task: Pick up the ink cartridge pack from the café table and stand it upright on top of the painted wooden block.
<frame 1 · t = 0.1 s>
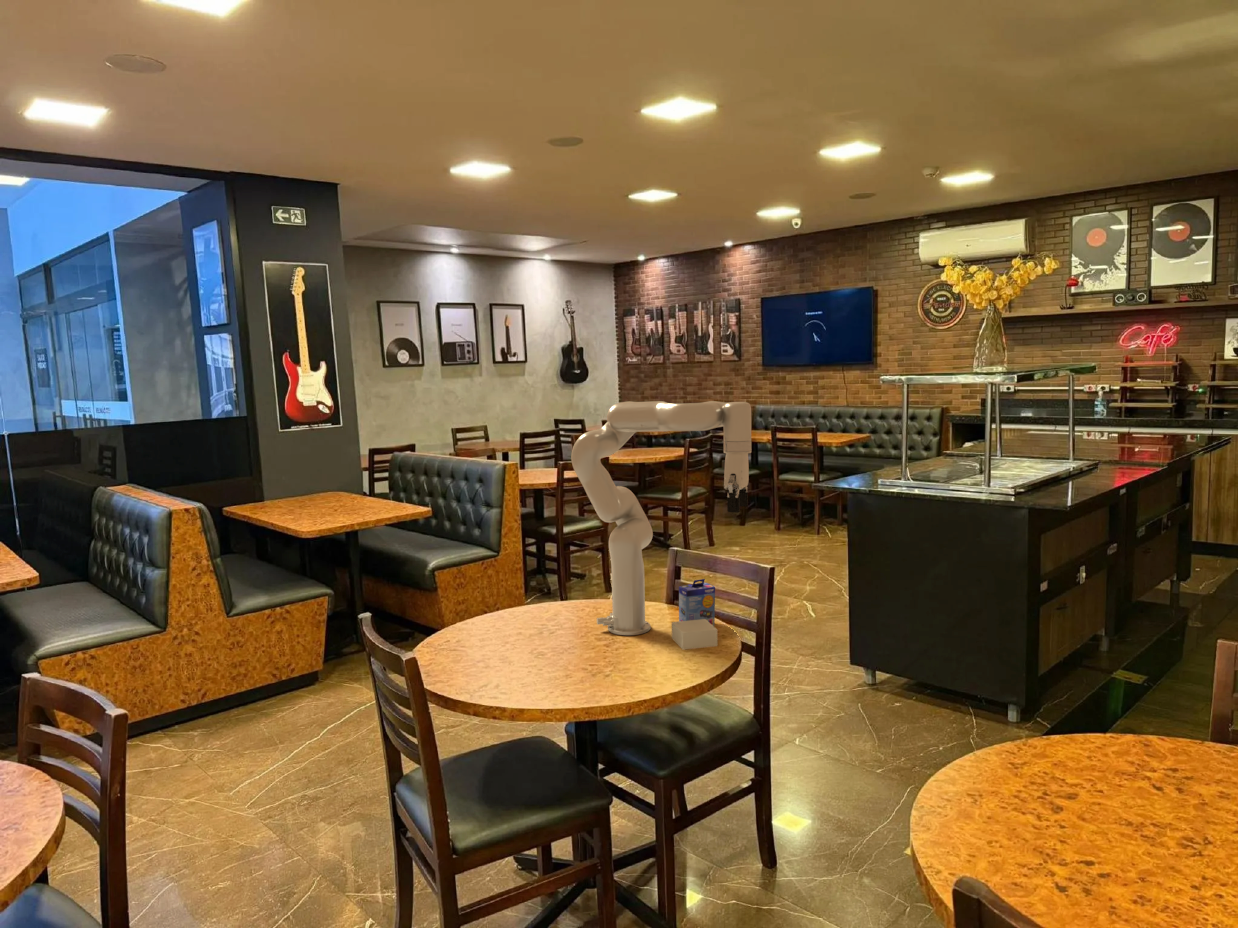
hand: (737, 509, 233), 37 cm above the table, tool pointing down, fingers open, 9 cm apart
base block: (694, 642, 236), on the table
ink cartridge box: (697, 626, 250), on the table
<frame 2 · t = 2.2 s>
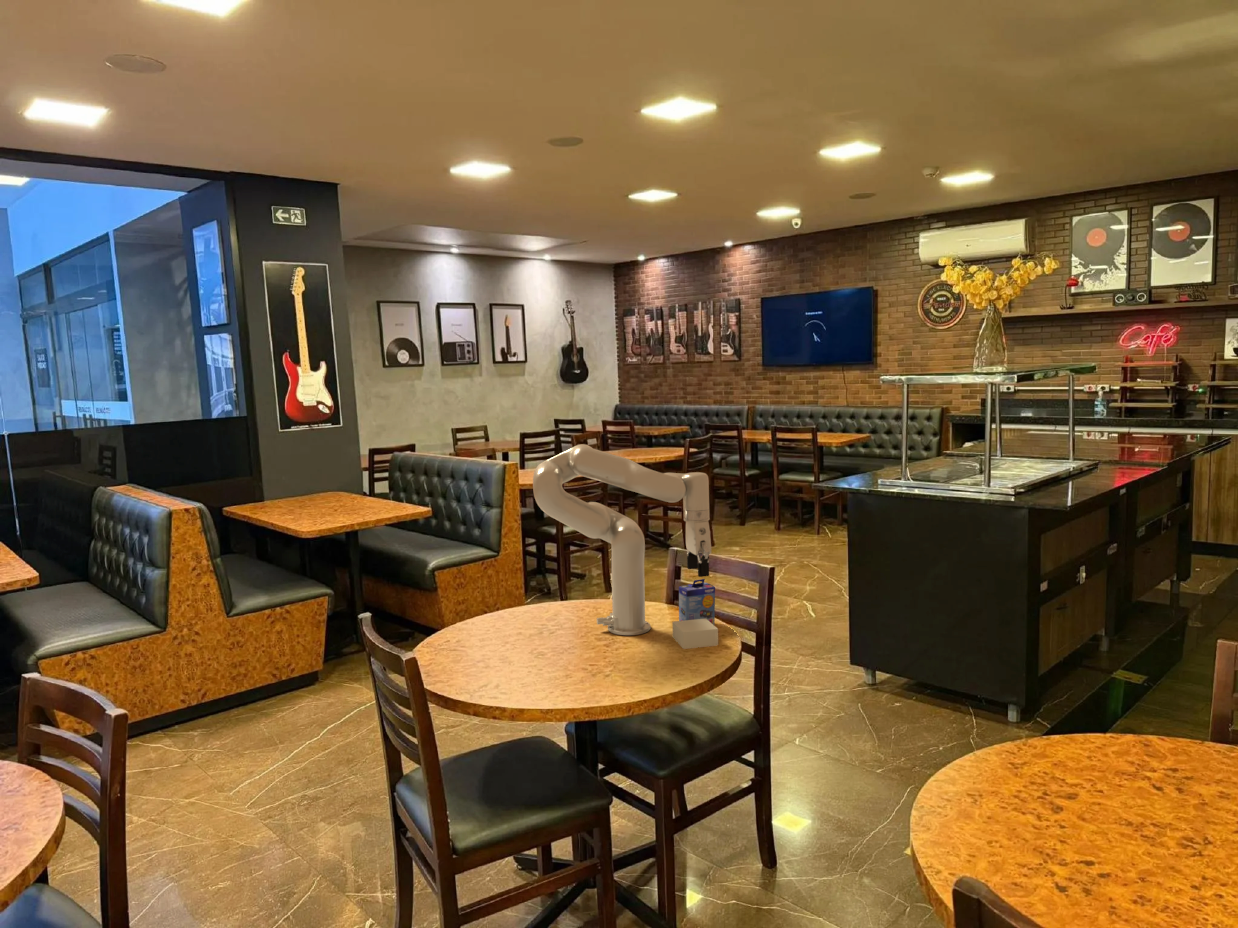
hand: (698, 572, 248), 16 cm above the table, tool pointing down, fingers open, 9 cm apart
nothing on the table moved.
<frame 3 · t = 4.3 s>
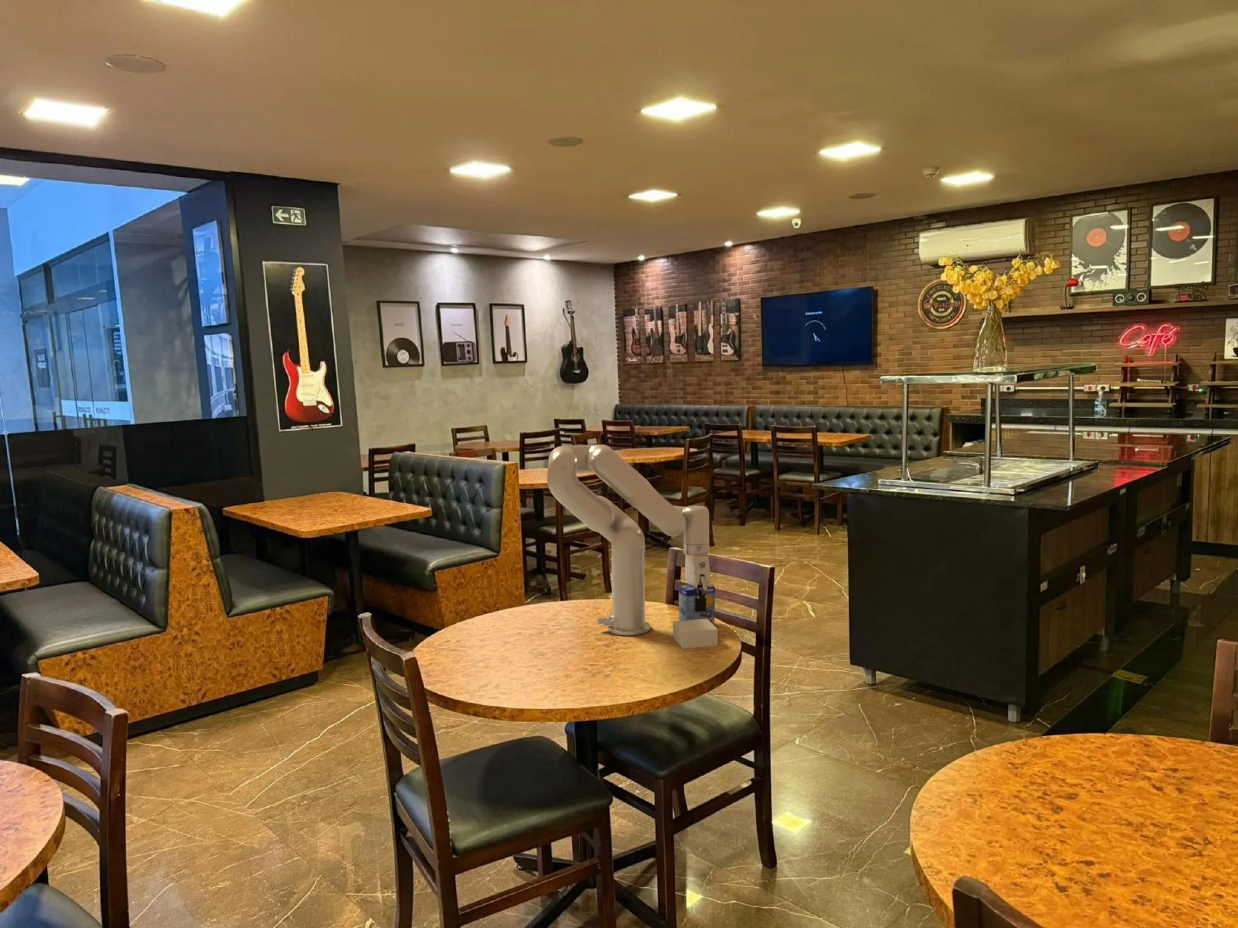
hand: (696, 607, 250), 6 cm above the table, tool pointing down, fingers closed on ink cartridge box, 5 cm apart
ink cartridge box: (697, 626, 250), on the table, touching gripper
everything else where it was.
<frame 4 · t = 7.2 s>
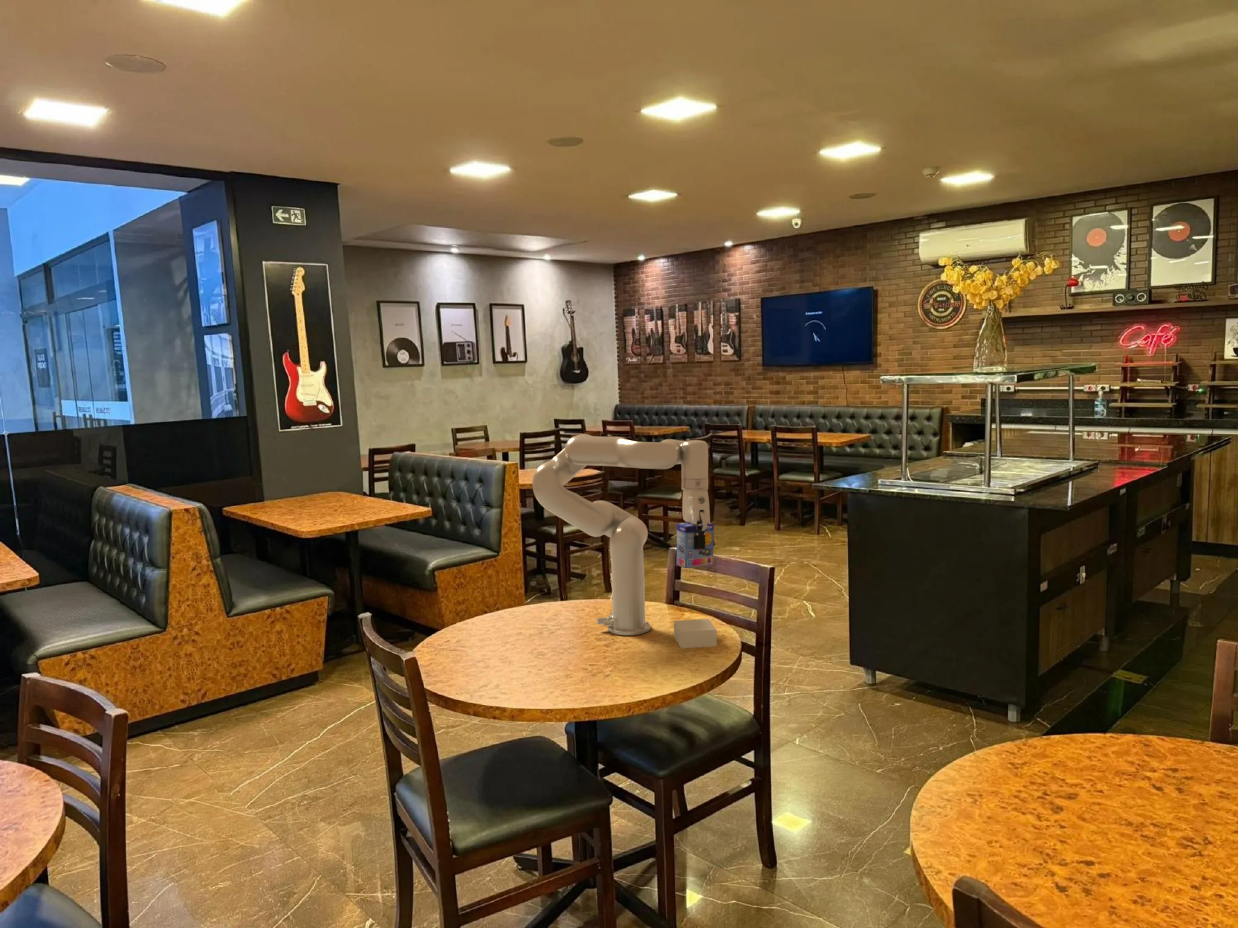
hand: (695, 545, 242), 25 cm above the table, tool pointing down, fingers closed on ink cartridge box, 5 cm apart
ink cartridge box: (695, 565, 243), point 20 cm above the table, touching gripper
everything else where it was.
when the fingers open (11 cm above the table, at t = 10.4 s): ink cartridge box drops 1 cm, resting on base block.
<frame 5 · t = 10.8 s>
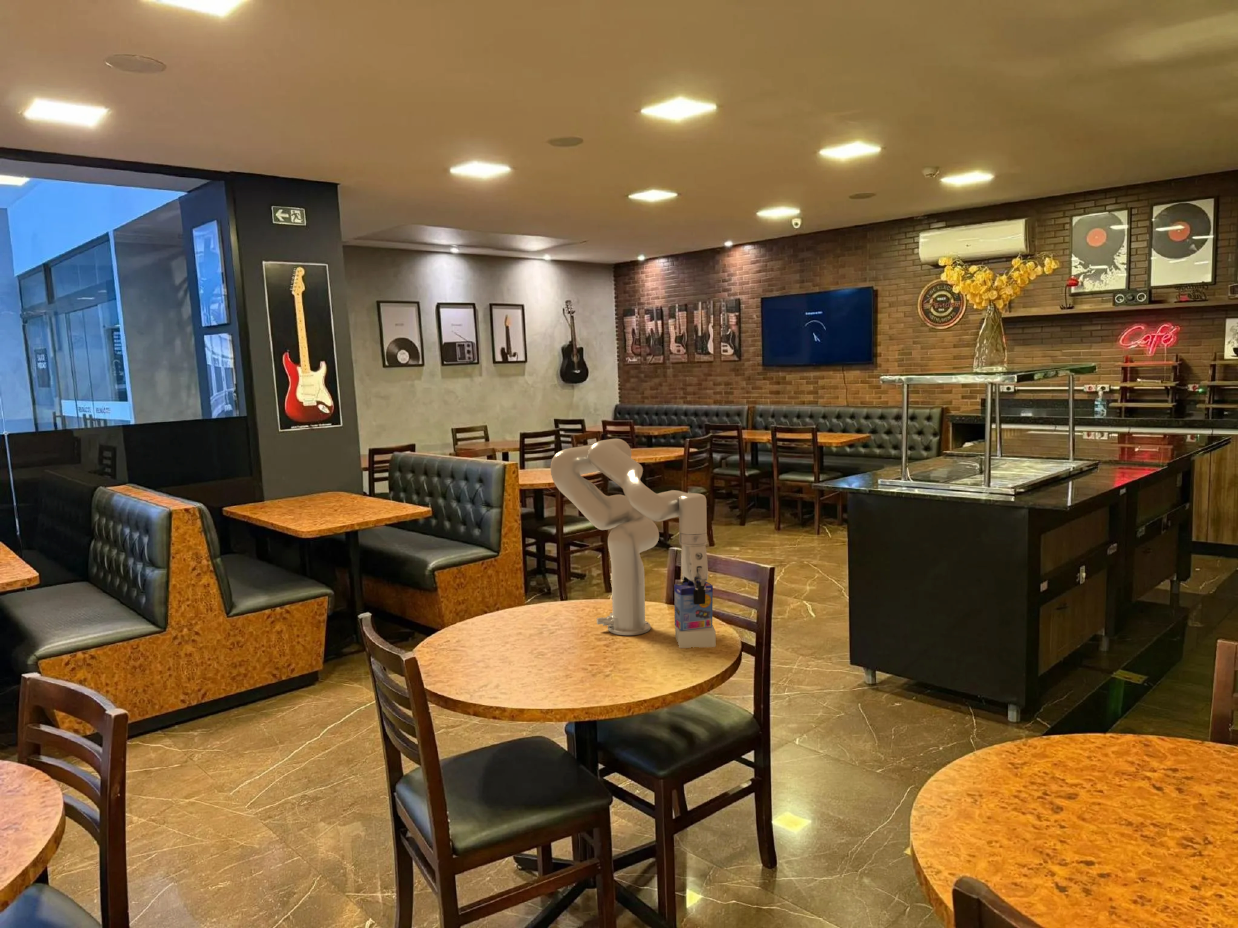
hand: (693, 599, 235), 12 cm above the table, tool pointing down, fingers open, 9 cm apart
base block: (695, 643, 237), on the table, touching ink cartridge box
ink cartridge box: (693, 627, 235), point 4 cm above the table, touching base block
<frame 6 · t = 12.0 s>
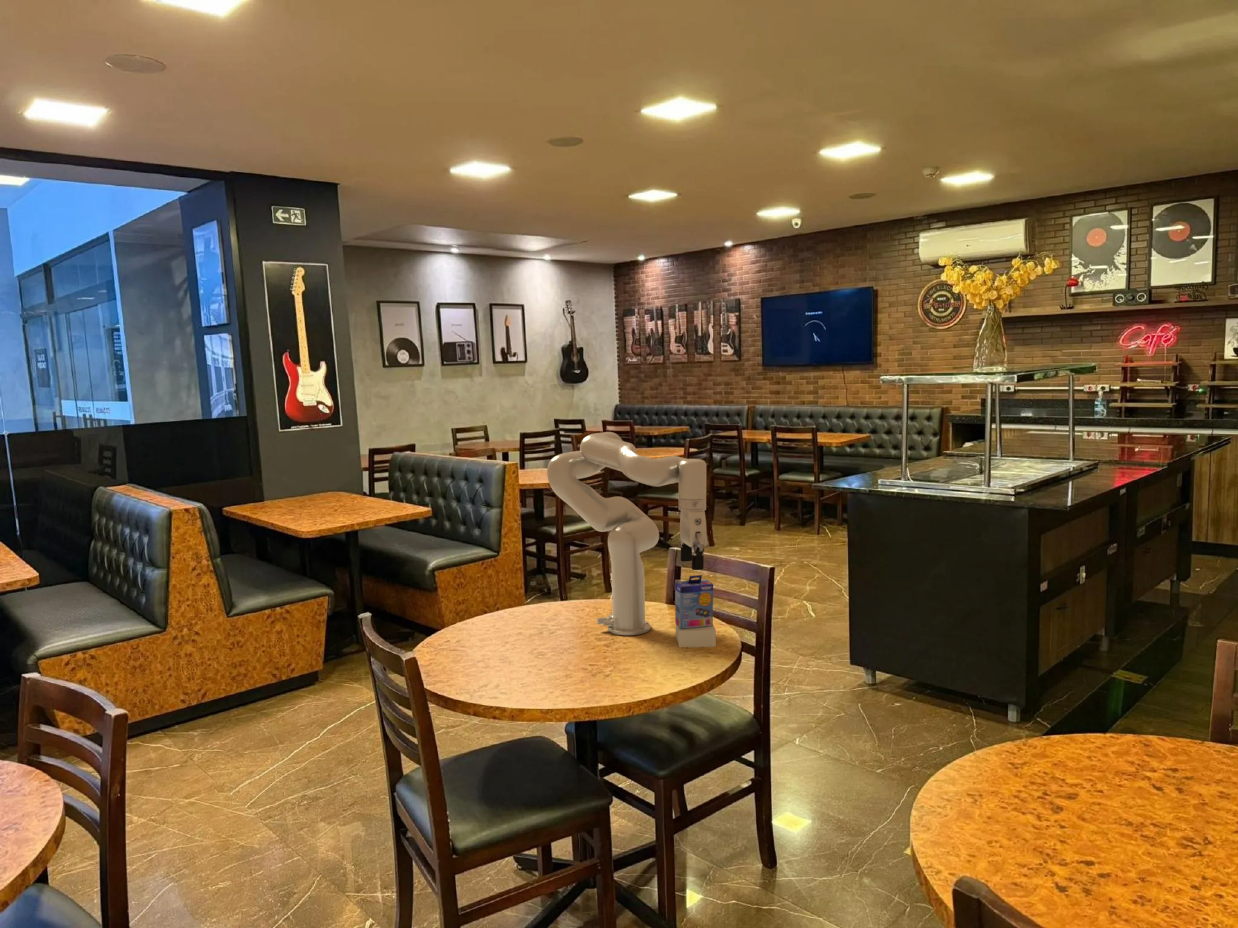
hand: (691, 565, 234), 22 cm above the table, tool pointing down, fingers open, 9 cm apart
base block: (695, 642, 237), on the table
ink cartridge box: (694, 625, 236), point 5 cm above the table
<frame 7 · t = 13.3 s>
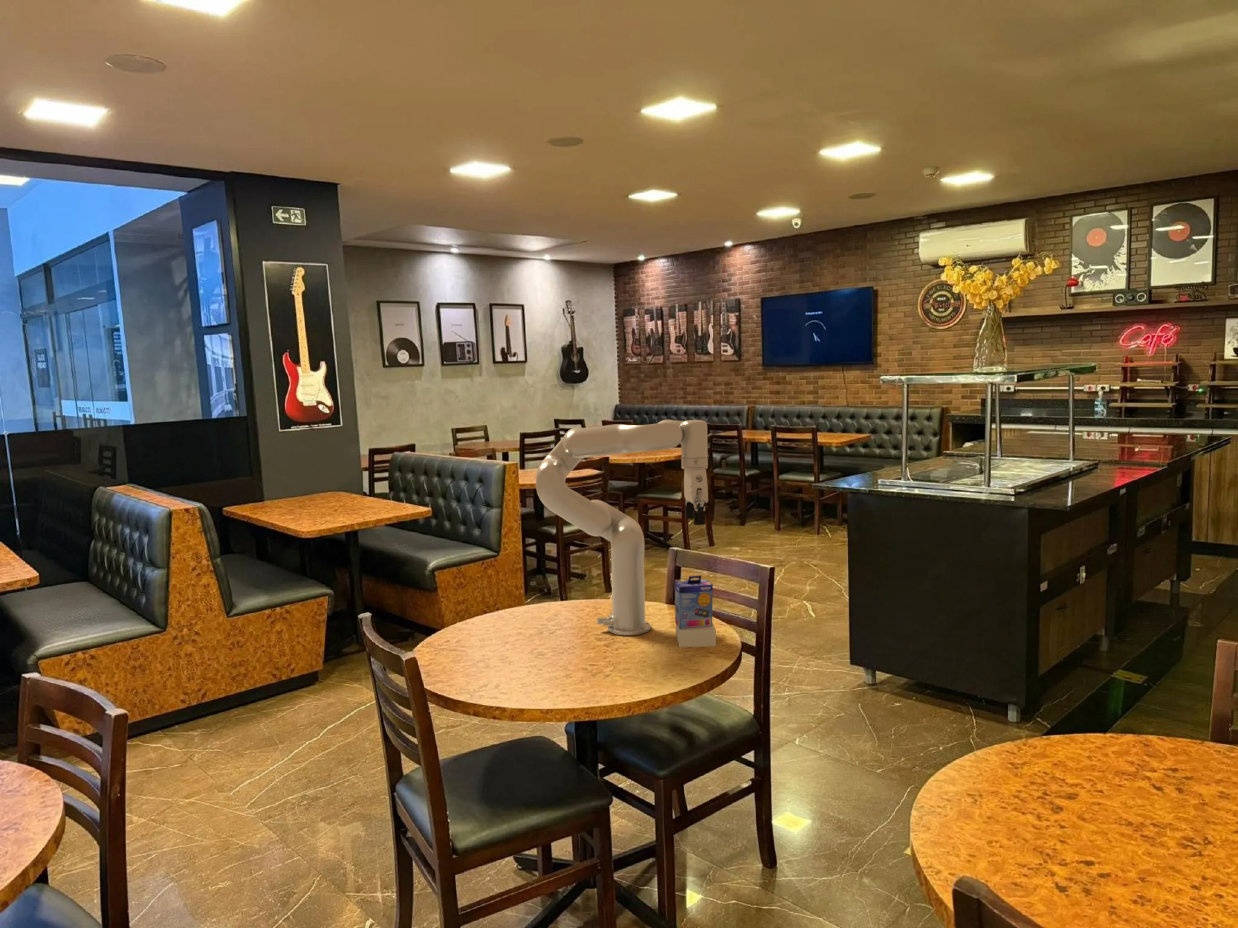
hand: (695, 521, 245), 32 cm above the table, tool pointing down, fingers open, 9 cm apart
base block: (695, 642, 237), on the table, touching ink cartridge box
ink cartridge box: (693, 625, 236), point 4 cm above the table, touching base block
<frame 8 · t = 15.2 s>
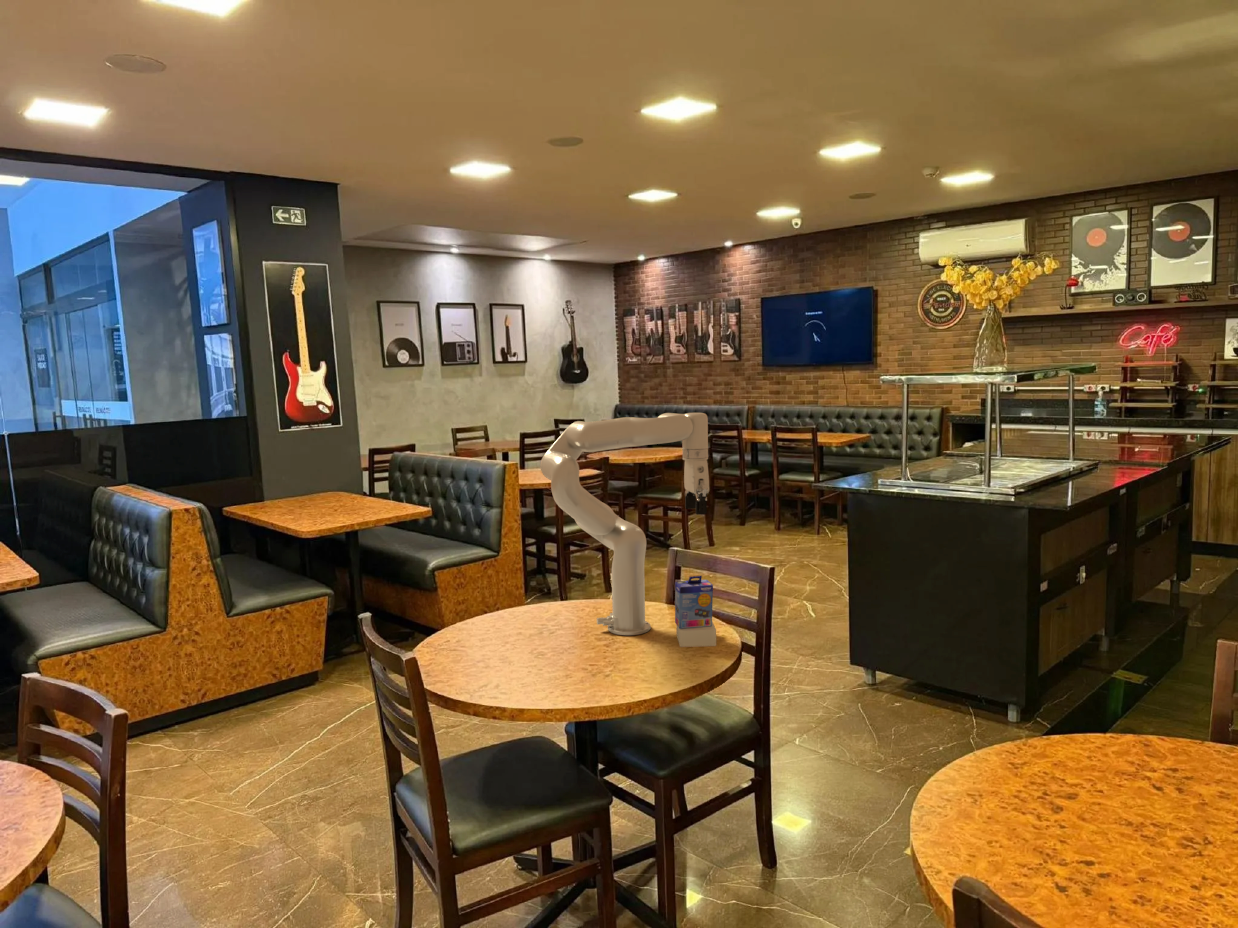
hand: (695, 511, 253), 33 cm above the table, tool pointing down, fingers open, 9 cm apart
nothing on the table moved.
at the end: ink cartridge box inside the target area on the base block (0.9 cm from its centre), point 4.9 cm above the base block's base; ink cartridge box tilted 1°; the gripper is holding nothing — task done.
